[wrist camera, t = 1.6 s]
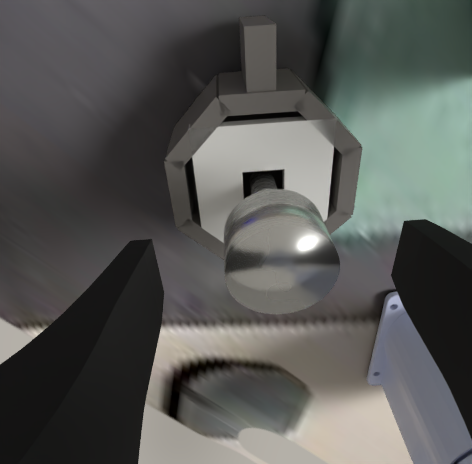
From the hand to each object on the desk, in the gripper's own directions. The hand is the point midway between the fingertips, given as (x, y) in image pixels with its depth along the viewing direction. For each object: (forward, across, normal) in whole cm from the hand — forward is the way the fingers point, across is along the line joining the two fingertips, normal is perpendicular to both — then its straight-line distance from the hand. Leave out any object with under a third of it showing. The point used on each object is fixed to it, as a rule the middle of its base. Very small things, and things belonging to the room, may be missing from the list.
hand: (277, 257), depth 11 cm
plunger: (+5, 0, 0) cm, 5 cm away
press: (+8, 0, 0) cm, 9 cm away
